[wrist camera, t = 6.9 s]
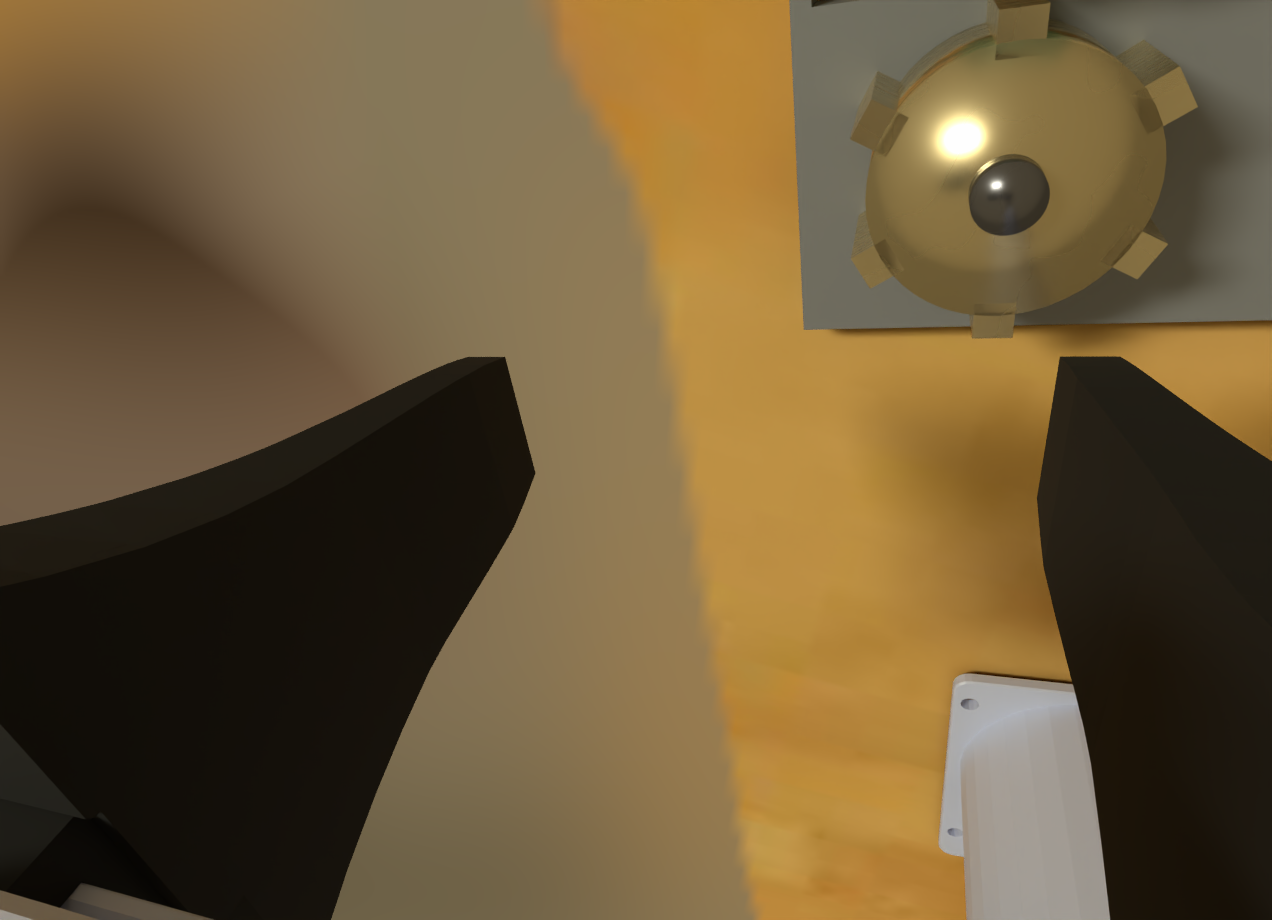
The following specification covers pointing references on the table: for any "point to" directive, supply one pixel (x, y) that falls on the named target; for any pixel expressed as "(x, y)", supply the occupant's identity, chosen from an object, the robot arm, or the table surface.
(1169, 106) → the gear board
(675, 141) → the table surface
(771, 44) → the table surface
